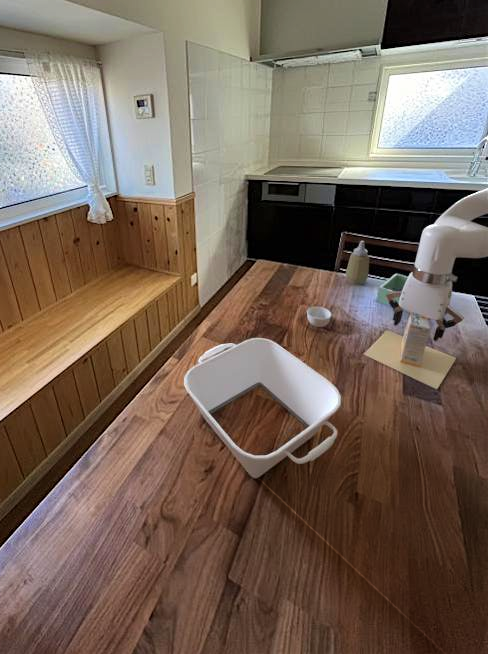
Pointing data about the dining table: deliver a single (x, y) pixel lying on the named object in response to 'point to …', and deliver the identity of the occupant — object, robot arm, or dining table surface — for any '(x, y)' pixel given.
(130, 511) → the dining table surface
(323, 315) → the teacup
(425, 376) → the mat
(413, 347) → the supplement box
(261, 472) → the tub
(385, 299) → the box
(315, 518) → the dining table surface
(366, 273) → the squeeze bottle
